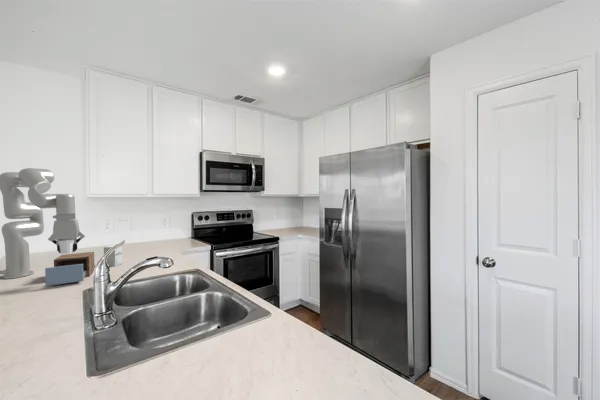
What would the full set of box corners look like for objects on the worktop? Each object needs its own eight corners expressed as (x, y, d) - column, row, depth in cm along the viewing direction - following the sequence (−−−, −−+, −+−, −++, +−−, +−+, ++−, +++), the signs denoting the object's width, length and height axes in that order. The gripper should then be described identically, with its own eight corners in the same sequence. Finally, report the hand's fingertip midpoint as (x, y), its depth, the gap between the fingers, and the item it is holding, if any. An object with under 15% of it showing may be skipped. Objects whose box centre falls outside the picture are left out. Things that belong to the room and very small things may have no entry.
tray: (55, 278, 144) (54, 262, 144) (89, 273, 151) (88, 258, 151) (45, 285, 132) (45, 268, 132) (83, 280, 139) (82, 264, 138)
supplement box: (115, 266, 171) (114, 247, 171) (103, 266, 171) (103, 247, 171) (123, 263, 178) (122, 244, 178) (112, 263, 179) (111, 245, 178)
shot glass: (67, 254, 137) (66, 240, 136) (54, 254, 137) (54, 240, 137) (79, 251, 143) (78, 238, 143) (67, 251, 144) (67, 238, 144)
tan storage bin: (62, 274, 156) (62, 254, 155) (94, 270, 163) (93, 251, 163) (54, 281, 143) (53, 259, 143) (89, 276, 150) (88, 256, 150)
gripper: (41, 218, 133) (43, 255, 133) (84, 216, 141) (86, 251, 141) (47, 217, 139) (48, 252, 140) (88, 216, 147) (89, 248, 148)
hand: (67, 251), depth 140 cm, fingers closed on shot glass, 5 cm apart
